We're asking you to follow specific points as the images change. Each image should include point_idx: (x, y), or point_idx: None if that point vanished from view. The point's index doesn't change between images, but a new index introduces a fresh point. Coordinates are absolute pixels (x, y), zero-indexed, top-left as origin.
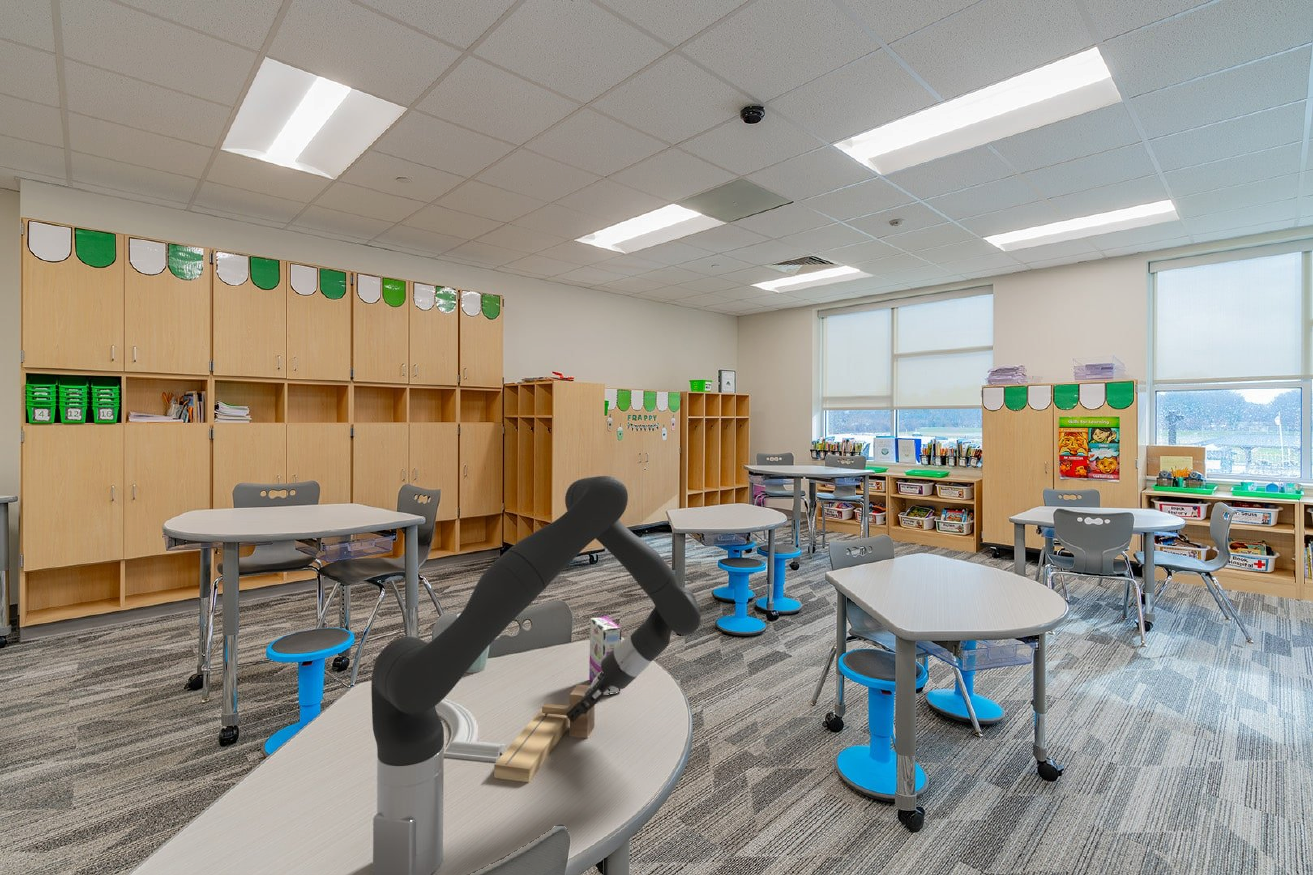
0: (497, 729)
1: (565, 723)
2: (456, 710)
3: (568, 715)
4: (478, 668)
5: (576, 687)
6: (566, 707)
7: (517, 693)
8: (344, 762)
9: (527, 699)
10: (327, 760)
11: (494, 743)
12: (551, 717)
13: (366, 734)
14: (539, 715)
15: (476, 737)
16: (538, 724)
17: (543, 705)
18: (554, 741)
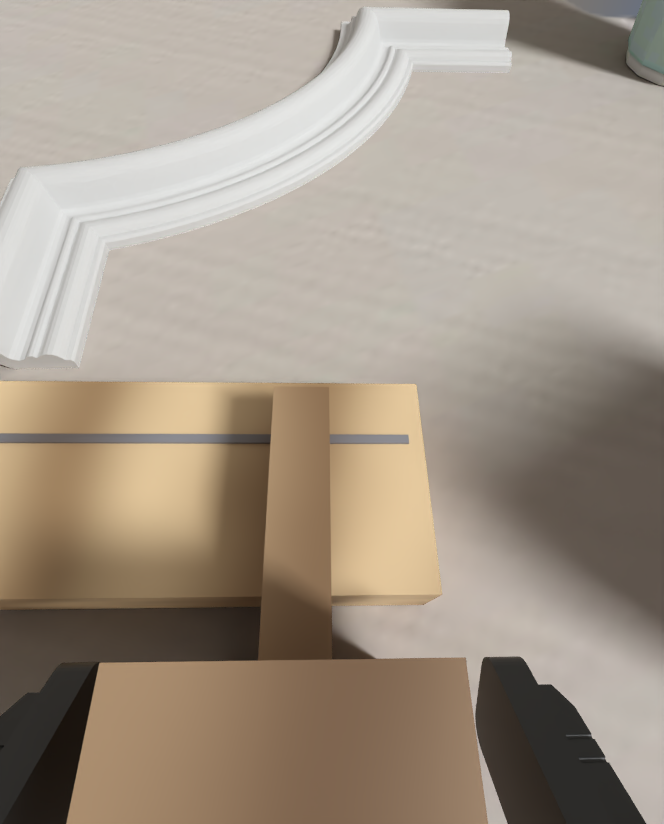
0: (240, 276)
1: None
2: (286, 104)
3: (20, 706)
4: (661, 68)
5: (361, 680)
6: (293, 583)
7: (578, 236)
8: (8, 32)
9: (548, 288)
10: (24, 9)
11: (62, 306)
12: None
13: (163, 18)
14: None
15: (139, 232)
16: (175, 439)
17: (290, 391)
18: (62, 605)
